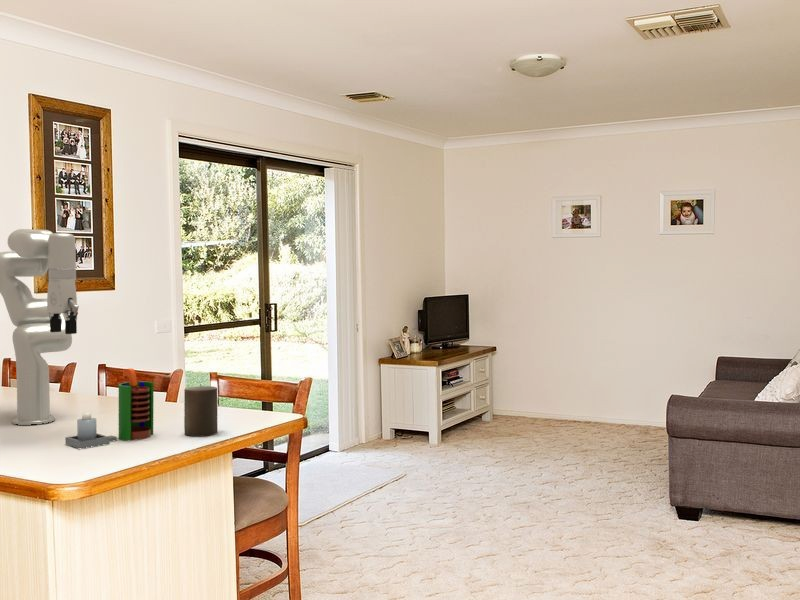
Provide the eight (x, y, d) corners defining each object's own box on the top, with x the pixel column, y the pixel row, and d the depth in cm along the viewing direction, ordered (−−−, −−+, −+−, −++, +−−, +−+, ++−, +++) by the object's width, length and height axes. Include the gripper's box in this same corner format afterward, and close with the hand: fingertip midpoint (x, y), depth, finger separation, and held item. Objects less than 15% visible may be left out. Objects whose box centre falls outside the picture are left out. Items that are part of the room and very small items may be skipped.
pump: (74, 444, 223) (73, 413, 222) (91, 441, 227) (90, 410, 226) (82, 447, 219) (82, 415, 219) (100, 444, 223) (99, 413, 223)
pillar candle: (209, 437, 232) (209, 386, 232) (178, 435, 234) (178, 385, 233) (222, 431, 242) (222, 382, 241) (192, 429, 243) (192, 381, 243)
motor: (139, 441, 227) (138, 371, 226) (111, 439, 229) (110, 370, 228) (157, 434, 237) (156, 367, 236) (130, 432, 239) (129, 366, 238)
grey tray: (65, 444, 223) (65, 437, 223) (106, 437, 232) (106, 430, 232) (80, 449, 217) (79, 441, 217) (121, 441, 226) (121, 434, 226)
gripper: (36, 275, 238) (37, 332, 238) (63, 275, 226) (64, 335, 227) (61, 275, 243) (62, 330, 244) (88, 275, 232) (89, 333, 232)
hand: (63, 332), depth 235 cm, fingers open, 9 cm apart
